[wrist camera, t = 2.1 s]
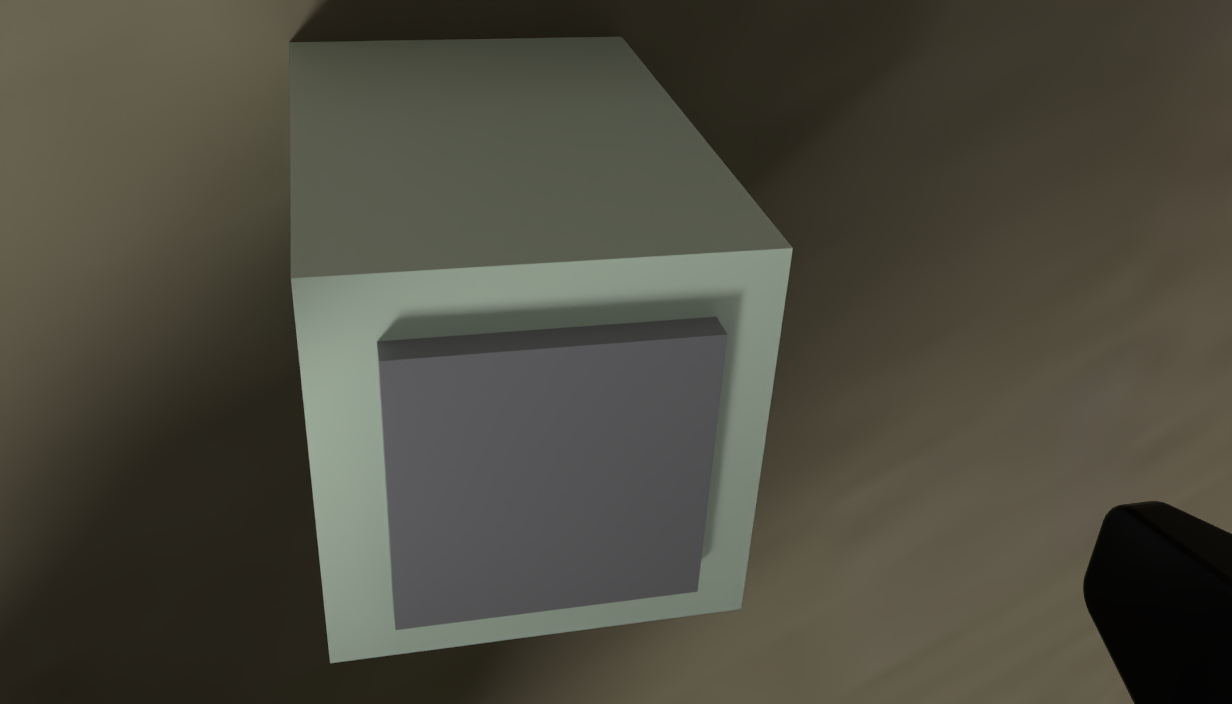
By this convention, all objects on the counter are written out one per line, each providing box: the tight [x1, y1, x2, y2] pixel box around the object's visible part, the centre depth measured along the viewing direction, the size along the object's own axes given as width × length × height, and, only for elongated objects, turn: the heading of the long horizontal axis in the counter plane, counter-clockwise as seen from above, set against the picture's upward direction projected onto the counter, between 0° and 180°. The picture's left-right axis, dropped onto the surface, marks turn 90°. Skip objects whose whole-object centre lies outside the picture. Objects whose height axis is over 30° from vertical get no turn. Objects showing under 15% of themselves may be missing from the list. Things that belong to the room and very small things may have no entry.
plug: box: [289, 37, 793, 663], centre depth 13 cm, size 4×4×6 cm
